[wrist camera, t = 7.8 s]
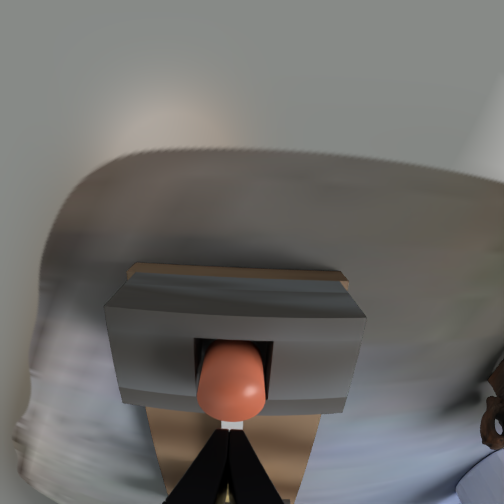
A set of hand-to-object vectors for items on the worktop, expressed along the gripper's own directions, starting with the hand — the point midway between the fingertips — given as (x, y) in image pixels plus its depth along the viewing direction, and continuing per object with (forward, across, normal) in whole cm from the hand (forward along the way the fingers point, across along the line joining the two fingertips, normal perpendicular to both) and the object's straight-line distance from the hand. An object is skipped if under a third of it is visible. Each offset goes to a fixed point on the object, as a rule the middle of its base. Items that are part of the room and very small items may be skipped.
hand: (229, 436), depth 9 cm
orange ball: (+4, 0, 0) cm, 4 cm away
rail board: (+9, 0, +10) cm, 13 cm away
